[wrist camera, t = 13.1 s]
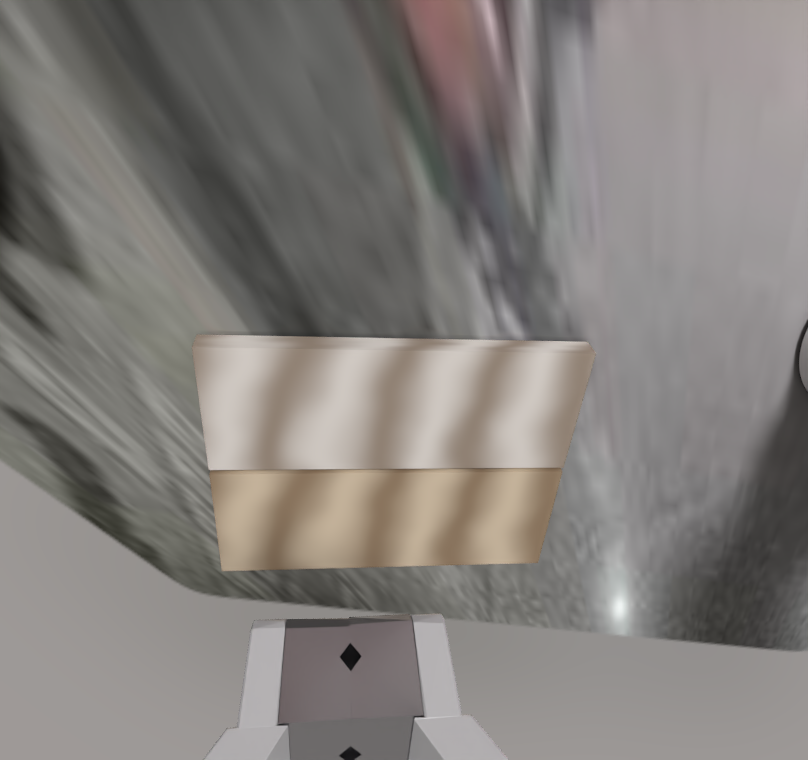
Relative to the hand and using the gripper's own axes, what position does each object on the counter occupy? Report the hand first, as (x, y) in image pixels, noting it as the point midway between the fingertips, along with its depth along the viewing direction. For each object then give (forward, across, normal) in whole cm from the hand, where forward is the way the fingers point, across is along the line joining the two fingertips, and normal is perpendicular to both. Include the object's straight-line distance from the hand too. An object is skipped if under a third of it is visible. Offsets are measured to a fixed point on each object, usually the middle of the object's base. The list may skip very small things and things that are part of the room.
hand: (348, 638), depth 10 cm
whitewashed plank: (+29, -4, +14) cm, 33 cm away
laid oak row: (+29, -4, +25) cm, 39 cm away
